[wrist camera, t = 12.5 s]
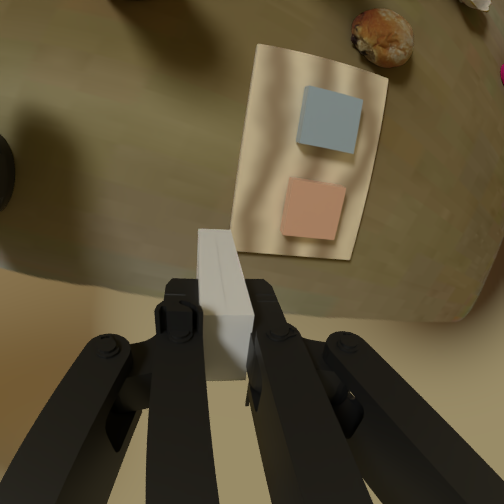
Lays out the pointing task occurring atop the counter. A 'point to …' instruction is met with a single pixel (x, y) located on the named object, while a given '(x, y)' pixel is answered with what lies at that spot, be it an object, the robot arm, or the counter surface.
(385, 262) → the counter surface
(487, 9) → the chinaware
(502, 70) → the pepper mill
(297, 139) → the tile blue
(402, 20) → the bread roll
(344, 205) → the board
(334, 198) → the pink square tile
